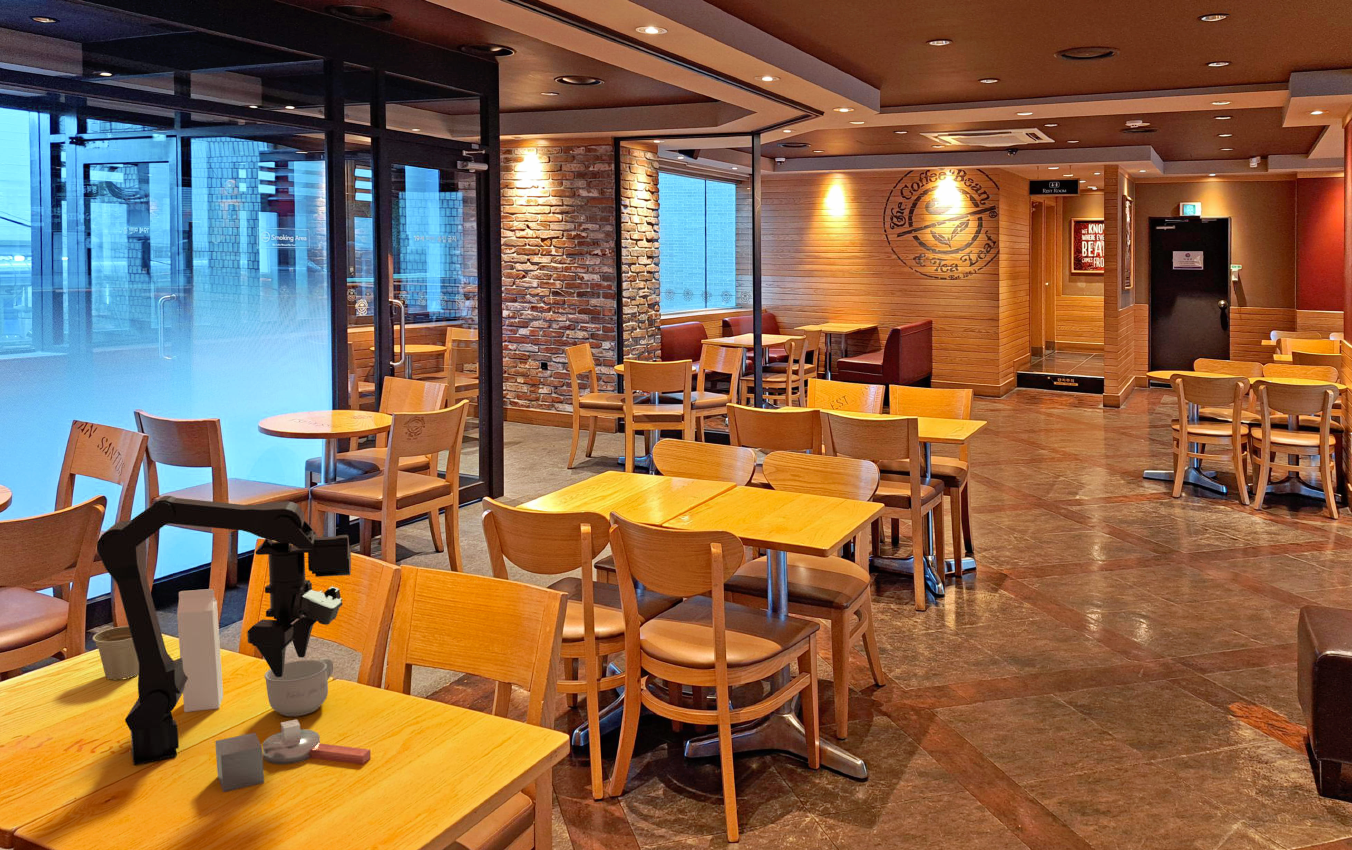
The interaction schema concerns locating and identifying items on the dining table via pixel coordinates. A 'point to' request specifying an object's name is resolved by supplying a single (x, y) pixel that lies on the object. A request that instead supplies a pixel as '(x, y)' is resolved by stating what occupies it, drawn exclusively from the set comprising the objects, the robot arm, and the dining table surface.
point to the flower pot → (117, 652)
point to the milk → (200, 649)
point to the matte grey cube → (239, 762)
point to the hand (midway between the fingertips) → (290, 666)
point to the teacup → (299, 686)
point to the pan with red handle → (307, 747)
